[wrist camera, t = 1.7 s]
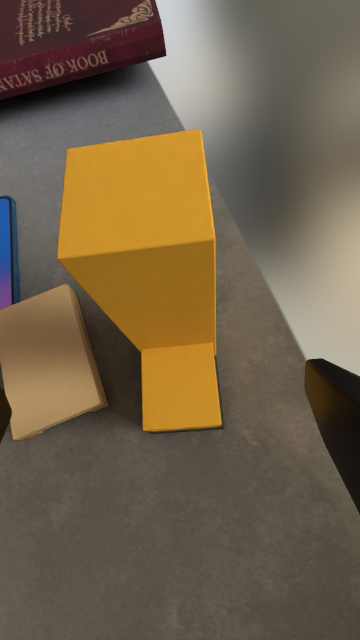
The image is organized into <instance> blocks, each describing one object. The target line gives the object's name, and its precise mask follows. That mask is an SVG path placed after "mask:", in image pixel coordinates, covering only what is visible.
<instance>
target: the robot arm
mask: <svg viewBox="0 0 360 640" xmlns="http://www.w3.org/2000/svg"><path fill="white" fill-rule="evenodd" d="M304 385H305V391H306V395H307V397H308V400H309V403H310V406H311V408H312V411H313V414H314V417H315V420H316V422H317V425H318V428H319V431H320V433H321V436H322V438H323V441H324V443H325V445H326V447H327V450H328V452H329V454H330V456H331V458H332V460H333V462H334V464H335V466H336V468H337V470H338V472H339V474H340V476H341V478H342V480H343V482H344V484H345V486H346V488H347V490H348V492H349V494H350V496H351V498H352V500H353V502H354V504H355V506H356V508H357V510H358V512H359V514H360V376H358V375H356V374H353V373H351V372H349V371H347V370H345V369H343V368H341V367H339V366H337V365H335V364H333V363H330V362H328V361H326V360H324V359H309V360H307V361H306V364H305V383H304ZM11 416H12V409H11V406H10V404H9V402H8V399H7V397H6V395H5V393H4V391H3V390H2V389H1V388H0V443H1V441H2V438H3V436H4V433H5V431H6V429H7V426H8V424H9V421H10V419H11Z"/></svg>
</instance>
